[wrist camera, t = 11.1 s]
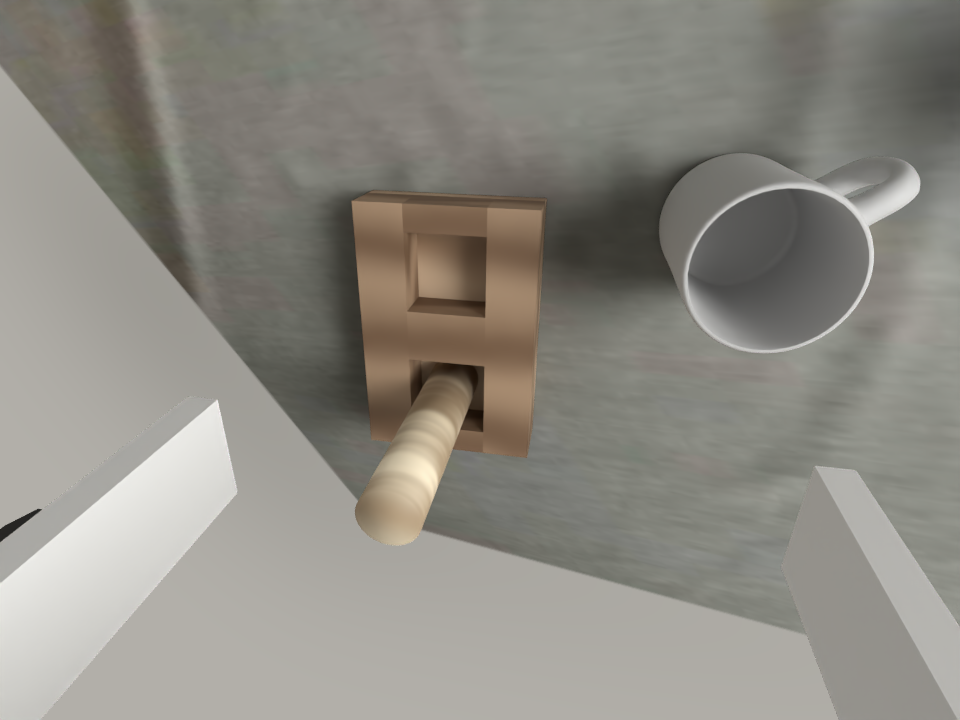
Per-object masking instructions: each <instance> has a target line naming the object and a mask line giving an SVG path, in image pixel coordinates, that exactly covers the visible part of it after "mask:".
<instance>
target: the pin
mask: <svg viewBox="0 0 960 720" xmlns="http://www.w3.org/2000/svg"><path fill="white" fill-rule="evenodd" d="M477 385H478V374H477V371H476V369H475V367H474V366H473V365H464V364H453V363H443V362H437V363H436V365H435V366H434V368H433V370H432V371H431V373H430V375H429V377H428V379H427V380H426V382H425V384H424V386H423V387H422V389H421V391H420V393H419V395H418V396H417V398H416V400H415V402H414V403H413V405H412V407H411V409H410V410H409V412H408V414H407V416H406V418H405V419H404V421H403V423H402V425H401V426H400V428H399V430H398V432H397V433H396V435H395V437H394V439H393V441H392V442H391V444H390V446H389V448H388V449H387V451H386V453H385V455H384V457H383V458H382V460H381V462H380V464H379V465H378V467H377V469H376V471H375V472H374V474H373V476H372V478H371V480H370V481H369V483H368V485H367V487H366V488H365V490H364V492H363V494H362V496H361V497H360V499H359V501H358V503H357V505H356V509H355V516H356V520H357V522H358V524H359V526H360V527H361V529H362V530H363V531H364V532H365V533H366V534H367V535H368V536H369V537H371V538H373V539H374V540H376V541H378V542H380V543H384V544H387V545H404V544H408V543H410V542H412V541H413V540H415V539H416V537H418V535H419V534H420V531H421V529H422V526H423V524H424V521H425V518H426V516H427V513H428V511H429V508H430V506H431V503H432V500H433V498H434V495H435V493H436V490H437V488H438V485H439V483H440V480H441V477H442V475H443V472H444V470H445V467H446V465H447V462H448V459H449V457H450V454H451V452H452V449H453V447H454V444H455V441H456V439H457V436H458V434H459V431H460V429H461V426H462V424H463V421H464V418H465V416H466V413H467V411H468V408H469V406H470V403H471V400H472V398H473V395H474V393H475V390H476V388H477Z"/></svg>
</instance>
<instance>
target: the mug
mask: <svg viewBox="0 0 960 720" xmlns="http://www.w3.org/2000/svg"><path fill="white" fill-rule="evenodd" d="M875 184H879V185H877V186H875V187H873V188H871V189H869V190H867V191H865V192H863V193H861V194H859V195H857V196H854V197H852V198H848V199H847V198H845V197H844V195H846V194H848V193H850V192H852V191H855V190H857V189H860V188H862V187H866V186H869V185H875ZM919 189H920V178H919V176H918V174H917V172H916V170H915V169H914V167H912V166H911V165H910V164H909V163H907V162H906V161H904V160H901V159H898V158H892V157H883V156H878V157H869V158H864V159H860V160H857V161H854V162H852V163H849V164H847V165H845V166H842V167H840V168H838V169H836V170H834V171H832V172H830V173H828V174H826V175H824V176H823V177H821V178H819V179H817V180H812V179H809V178H807V177H805V176H803V175H801V174H799V173H797V172H795V171H793V170H791V169H788V168H786V167H784V166H783V165H781V164H779V163H777V162H775V161H773V160H771V159H769V158H766V157H763V156H760V155H755V154H749V153H734V154H726V155H722V156H718V157H715V158H712V159H710V160H707V161H705V162H703V163H701V164H699V165H698V166H696V167H695V168H693V169H692V170H690V171H689V172H688V173H687V174H686V175H685V176H683V177H682V178H681V180H680V181H679V182H678V183H677V184H676V185H675V187H674V188H673V189H672V191H671V192H670V194H669V196H668V197H667V199H666V201H665V204H664V206H663V209H662V212H661V216H660V222H659V237H660V244H661V248H662V251H663V254H664V256H665V258H666V260H667V262H668V264H669V267H670V269H671V272H672V274H673V277H674V279H675V282H676V285H677V287H678V290H679V292H680V295H681V297H682V300H683V302H684V304H685V307H686V309H687V311H688V313H689V314H690V316H691V317H692V319H693V321H694V322H695V323H696V324H697V325H698V326H699V328H700V329H701V330H702V331H703V332H705V333H706V334H707V335H708V336H709V337H711V338H712V339H714V340H716V341H717V342H719V343H721V344H723V345H725V346H727V347H730V348H733V349H736V350H740V351H745V352H750V353H776V352H783V351H788V350H792V349H795V348H799V347H801V346H804V345H807V344H809V343H811V342H813V341H815V340H817V339H819V338H821V337H823V336H824V335H826V334H827V333H829V332H831V331H832V330H833V329H834V328H836V327H837V326H838V325H839V324H841V323H842V322H843V321H844V320H845V319H846V318H847V317H848V316H849V315H850V313H851V312H852V311H853V310H854V308H855V307H856V306H857V305H858V303H859V301H860V300H861V298H862V297H863V295H864V293H865V291H866V288H867V286H868V284H869V281H870V278H871V274H872V269H873V263H874V247H873V241H872V236H871V233H870V230H869V227H868V226H870V225H871V224H873V223H875V222H877V221H879V220H881V219H883V218H885V217H886V216H888V215H890V214H892V213H894V212H896V211H897V210H899V209H901V208H902V207H904V206H905V205H907V204H908V203H909V202H910V201H911V200H913V199H914V198H915V197H916V195H917V194H918V193H919Z"/></svg>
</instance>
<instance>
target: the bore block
mask: <svg viewBox="0 0 960 720" xmlns="http://www.w3.org/2000/svg"><path fill="white" fill-rule="evenodd" d="M546 203H547V198H530V197H509V196H488V195H466V194H445V193H424V192H402V191H381V190H373V191H370V192H368V193H366V194H364V195H362V196H360V197H358V198H356V199H354V200H352V213H353V225H354V237H355V249H356V261H357V273H358V285H359V297H360V309H361V321H362V333H363V345H364V357H365V369H366V381H367V393H368V405H369V417H370V428H371V440H379V441H388V442H392V441H393V439H394V437H395V435H396V433H397V432H398V430H399V428H400V426H401V425H402V423H403V421H404V419H405V418H406V416H407V414H408V412H409V410H410V409H411V407H412V405H413V403H414V402H415V400H416V398H417V396H418V395H419V393H420V391H421V389H422V387H423V386H424V384H425V382H426V380H427V379H428V377H429V375H430V373H431V371H432V370H433V368H434V366H435V365H436V363H437V362H443V363H453V364H464V365H473V366H474V367H475V369H476V371H477V374H478V385H477V388H476V390H475V393H474V395H473V398H472V400H471V403H470V406H469V408H468V411H467V413H466V416H465V418H464V421H463V424H462V426H461V429H460V431H459V434H458V436H457V439H456V441H455V444H454V447H453V449H456V450H465V451H473V452H482V453H490V454H499V455H507V456H516V457H524V458H527V455H528V449H529V444H530V438H531V433H532V425H533V410H534V394H535V378H536V362H537V346H538V330H539V314H540V298H541V282H542V266H543V250H544V235H545V219H546Z"/></svg>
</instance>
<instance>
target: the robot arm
mask: <svg viewBox="0 0 960 720" xmlns="http://www.w3.org/2000/svg"><path fill="white" fill-rule="evenodd" d="M236 494H237V487H236V483H235V478H234V474H233V469H232V464H231V460H230V455H229V450H228V446H227V441H226V436H225V432H224V427H223V423H222V418H221V413H220V409H219V404H218V400H217V399H208V398H199V397H190V396H188V397H187V398H185V399H184V400H183V401H182V402H180V403H179V404H178V405H176V406H175V407H174V408H172V409H171V410H170V411H169V412H167V413H166V414H165V415H163V416H162V417H161V418H160V419H158V420H157V421H156V422H154V423H153V424H152V425H151V426H149V427H148V428H147V429H145V430H144V431H143V432H142V433H140V434H139V435H138V436H136V437H135V438H134V439H133V440H131V441H130V442H129V443H127V444H126V445H125V446H124V447H122V448H121V449H120V450H118V451H117V452H116V453H114V454H113V455H112V456H111V457H109V458H108V459H107V460H106V461H104V462H103V463H102V464H100V465H99V466H98V467H97V468H95V469H94V470H93V471H91V472H90V473H89V474H87V475H86V476H85V477H84V478H82V479H81V480H80V481H78V482H77V483H76V484H75V485H73V486H72V487H71V488H69V489H68V490H67V491H66V492H64V493H63V494H62V495H60V496H59V497H58V498H57V499H55V500H54V501H53V502H51V503H50V504H49V505H48V506H46V507H45V508H44V509H37V510H35V511H33V512H31V513H29V514H27V515H25V516H23V517H21V518H19V519H17V520H15V521H13V522H11V523H9V524H7V525H5V526H4V527H2V528H1V529H0V720H41V719H42V717H43V716H44V715H45V714H46V713H47V712H48V711H49V709H50V708H51V707H52V706H53V705H54V704H55V702H56V701H57V700H58V699H59V698H60V697H61V696H62V694H63V693H64V692H65V691H66V690H67V689H68V687H69V686H70V685H71V684H72V683H73V682H74V681H75V679H76V678H77V677H78V676H79V675H80V674H81V672H82V671H83V670H84V669H85V668H86V667H87V665H88V664H89V663H90V662H91V661H92V660H93V659H94V657H95V656H96V655H97V654H98V653H99V652H100V651H101V649H102V648H103V647H104V646H105V645H106V644H107V642H108V641H109V640H110V639H111V638H112V637H113V636H114V634H115V633H116V632H117V631H118V630H119V629H120V628H121V626H122V625H123V624H124V623H125V622H126V620H127V619H128V618H129V617H130V616H131V615H132V614H133V612H134V611H135V610H136V609H137V608H138V607H139V606H140V604H141V603H142V602H143V601H144V599H146V598H147V596H148V595H149V594H150V593H151V592H152V591H153V589H154V588H155V587H156V586H157V585H158V584H159V582H160V581H161V580H162V579H163V578H164V577H165V575H166V574H167V573H168V572H169V571H170V570H171V569H172V568H173V566H174V565H175V564H176V563H177V562H178V561H179V559H180V558H181V557H182V556H183V555H184V554H185V553H186V551H187V550H188V549H189V548H190V547H191V545H192V544H193V543H194V542H195V541H196V540H197V538H199V536H200V535H201V534H202V533H203V532H204V531H205V529H206V528H207V527H208V526H209V525H210V524H211V522H212V521H213V520H214V519H215V518H216V517H217V516H218V514H219V513H220V512H221V511H222V510H223V509H224V508H225V506H226V505H227V504H228V503H229V502H230V501H231V499H232V498H233V497H234V496H235V495H236ZM781 568H782V571H783V574H784V576H785V579H786V582H787V584H788V587H789V589H790V592H791V595H792V597H793V600H794V603H795V605H796V608H797V611H798V613H799V616H800V619H801V621H802V624H803V627H804V629H805V632H806V634H807V637H808V640H809V642H810V645H811V647H812V650H813V653H814V656H815V658H816V661H817V664H818V666H819V669H820V671H821V674H822V677H823V679H824V682H825V685H826V687H827V690H828V692H829V695H830V698H831V701H832V703H833V706H834V709H835V711H836V714H837V716H838V719H839V720H960V627H959V625H958V624H957V622H956V621H955V619H954V618H953V616H952V615H951V613H950V611H949V610H948V608H947V607H946V605H945V604H944V602H943V601H942V599H941V598H940V596H939V595H938V593H937V592H936V590H935V589H934V587H933V586H932V584H931V583H930V581H929V580H928V578H927V577H926V575H925V574H924V572H923V571H922V569H921V568H920V566H919V565H918V563H917V562H916V560H915V559H914V557H913V556H912V554H911V553H910V551H909V550H908V548H907V547H906V545H905V544H904V542H903V541H902V539H901V538H900V536H899V535H898V533H897V532H896V530H895V529H894V527H893V525H892V524H891V522H890V521H889V519H888V518H887V516H886V515H885V513H884V512H883V510H882V509H881V507H880V506H879V504H878V503H877V501H876V500H875V498H874V497H873V495H872V494H871V492H870V491H869V489H868V488H867V486H866V485H865V483H864V482H863V480H862V479H861V477H860V476H859V474H858V473H857V471H856V470H849V469H840V468H831V467H822V466H814V469H813V472H812V475H811V478H810V481H809V484H808V487H807V490H806V493H805V496H804V499H803V502H802V505H801V508H800V511H799V514H798V517H797V520H796V523H795V526H794V529H793V532H792V535H791V538H790V541H789V545H788V548H787V551H786V554H785V557H784V560H783V563H782V566H781Z"/></svg>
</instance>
